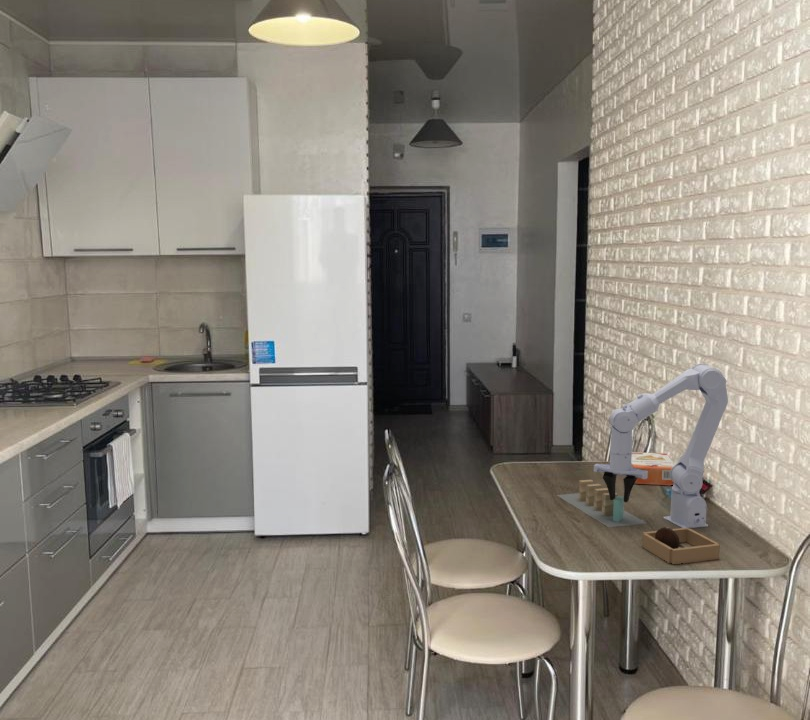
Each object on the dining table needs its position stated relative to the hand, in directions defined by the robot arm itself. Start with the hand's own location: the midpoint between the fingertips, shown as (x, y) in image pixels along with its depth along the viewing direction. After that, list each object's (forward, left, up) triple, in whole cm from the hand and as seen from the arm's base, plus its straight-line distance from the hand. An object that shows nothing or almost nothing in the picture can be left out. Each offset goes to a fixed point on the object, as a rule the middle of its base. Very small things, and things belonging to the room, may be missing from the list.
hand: (619, 500), depth 219 cm
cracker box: (+27, -30, -3) cm, 40 cm away
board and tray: (-3, -1, -6) cm, 7 cm away
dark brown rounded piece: (-23, 0, -6) cm, 24 cm away
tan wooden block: (+9, 0, -6) cm, 11 cm away
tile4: (+14, 0, -6) cm, 15 cm away
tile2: (+5, 0, -6) cm, 7 cm away
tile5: (+18, 0, -6) cm, 19 cm away
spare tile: (0, 0, -6) cm, 6 cm away
